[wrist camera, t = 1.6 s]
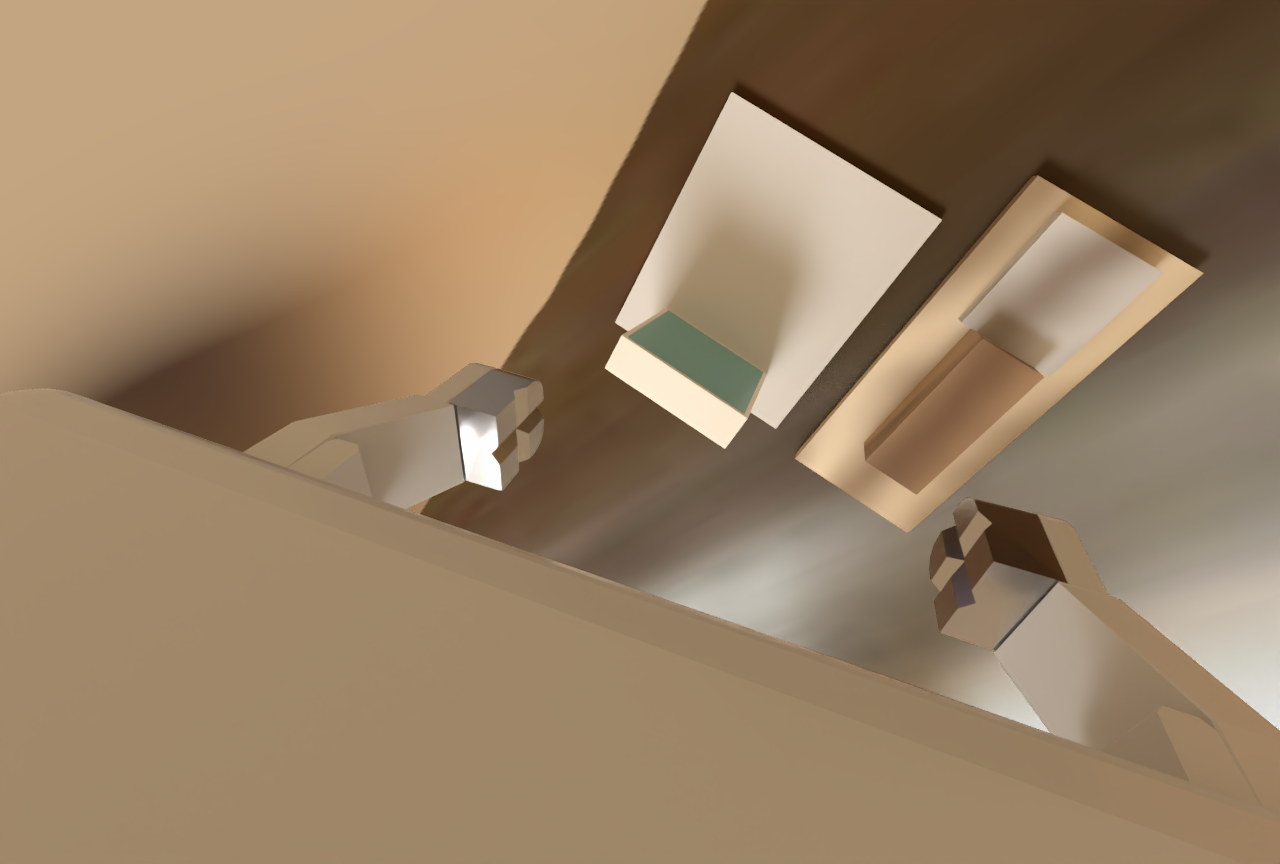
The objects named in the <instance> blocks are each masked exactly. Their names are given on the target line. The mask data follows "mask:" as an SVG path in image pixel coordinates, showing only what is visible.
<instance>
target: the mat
mask: <svg viewBox="0 0 1280 864" xmlns="http://www.w3.org/2000/svg"><path fill="white" fill-rule="evenodd" d="M941 221H942V219H940V218H938V217H937V216H935V215H933V214H932V213H930V212H929V211H927V210H925V209H924V208H922V207H920V206H919V205H917V204H915V203H914V202H912V201H910V200H909V199H907V198H906V197H904V196H902V195H901V194H899V193H897V192H896V191H894V190H892V189H891V188H889V187H887V186H886V185H884V184H883V183H881V182H879V181H878V180H876V179H874V178H873V177H871V176H869V175H868V174H866V173H864V172H863V171H861V170H860V169H858V168H856V167H855V166H853V165H851V164H850V163H848V162H846V161H845V160H843V159H841V158H840V157H838V156H837V155H835V154H833V153H832V152H830V151H828V150H827V149H825V148H823V147H822V146H820V145H818V144H817V143H815V142H814V141H812V140H810V139H809V138H807V137H805V136H804V135H802V134H800V133H799V132H797V131H795V130H794V129H792V128H791V127H789V126H787V125H786V124H784V123H782V122H781V121H779V120H777V119H776V118H774V117H772V116H771V115H769V114H768V113H766V112H764V111H763V110H761V109H759V108H758V107H756V106H754V105H753V104H751V103H749V102H748V101H746V100H745V99H743V98H741V97H740V96H738V95H736V94H735V93H733V92H731V94H730V96H729V98H728V100H727V102H726V104H725V106H724V108H723V110H722V112H721V114H720V116H719V118H718V120H717V122H716V124H715V126H714V128H713V130H712V132H711V134H710V136H709V138H708V140H707V142H706V144H705V146H704V148H703V150H702V151H701V153H700V155H699V157H698V159H697V161H696V163H695V165H694V167H693V169H692V171H691V173H690V175H689V177H688V179H687V181H686V183H685V185H684V187H683V189H682V191H681V193H680V195H679V197H678V199H677V201H676V203H675V205H674V207H673V209H672V211H671V213H670V215H669V217H668V219H667V221H666V223H665V225H664V227H663V229H662V231H661V233H660V235H659V237H658V239H657V241H656V242H655V244H654V246H653V248H652V250H651V252H650V254H649V256H648V258H647V260H646V262H645V264H644V266H643V268H642V270H641V272H640V274H639V276H638V278H637V280H636V282H635V284H634V286H633V288H632V290H631V292H630V294H629V296H628V298H627V300H626V302H625V304H624V306H623V308H622V310H621V312H620V314H619V316H618V318H617V320H616V322H615V323H617V324H618V325H620V326H621V327H623V328H624V329H626V330H627V331H630V330H631V329H633V328H634V327H636V326H638V325H639V324H641V323H643V322H644V321H646V320H647V319H649V318H651V317H652V316H654V315H655V314H657V313H659V312H660V311H662V310H664V309H665V308H667V309H669V310H670V311H672V312H673V313H675V314H676V315H678V316H679V317H681V318H682V319H684V320H686V321H687V322H689V323H690V324H692V325H693V326H695V327H696V328H698V329H699V330H701V331H702V332H704V333H705V334H707V335H709V336H710V337H712V338H713V339H715V340H716V341H718V342H719V343H721V344H722V345H724V346H725V347H727V348H728V349H730V350H731V351H733V352H735V353H736V354H738V355H739V356H741V357H742V358H744V359H745V360H747V361H748V362H750V363H751V364H753V365H754V366H756V367H758V368H759V369H761V370H762V371H764V372H765V373H767V375H766V378H765V380H764V382H763V385H762V387H761V389H760V391H759V394H758V396H757V398H756V400H755V403H754V405H753V407H752V410H751V413H753V414H754V415H756V416H757V417H759V418H760V419H762V420H763V421H765V422H766V423H768V424H769V425H771V426H772V427H774V428H775V429H776V428H777V427H778V425H779V424H780V423H781V422H782V420H783V419H784V418H785V417H786V415H787V414H788V413H789V412H790V410H791V409H792V408H793V407H794V405H795V404H796V403H797V401H798V400H799V399H800V398H801V396H802V395H803V394H804V393H805V391H806V390H807V389H808V388H809V386H810V385H811V384H812V383H813V381H814V380H815V379H816V378H817V376H818V375H819V374H820V373H821V371H822V370H823V369H824V368H825V366H826V365H827V364H828V363H829V361H830V360H831V359H832V358H833V356H834V355H835V354H836V353H837V351H838V350H839V349H840V348H841V346H842V345H843V344H844V342H845V341H846V340H847V339H848V337H849V336H850V335H851V334H852V332H853V331H854V330H855V329H856V327H857V326H858V325H859V324H860V322H861V321H862V320H863V319H864V317H865V316H866V315H867V314H868V312H869V311H870V310H871V309H872V307H873V306H874V305H875V304H876V302H877V301H878V300H879V299H880V297H881V296H882V295H883V294H884V292H885V291H886V290H887V289H888V287H889V286H890V285H891V283H892V282H893V281H894V280H895V278H896V277H897V276H898V275H899V273H900V272H901V271H902V270H903V268H904V267H905V266H906V265H907V263H908V262H909V261H910V260H911V258H912V257H913V256H914V255H915V253H916V252H917V251H918V250H919V248H920V247H921V246H922V245H923V243H924V242H925V241H926V240H927V238H928V237H929V236H930V235H931V233H932V232H933V231H934V230H935V228H936V227H937V226H938V224H939V223H940V222H941Z"/></svg>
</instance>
